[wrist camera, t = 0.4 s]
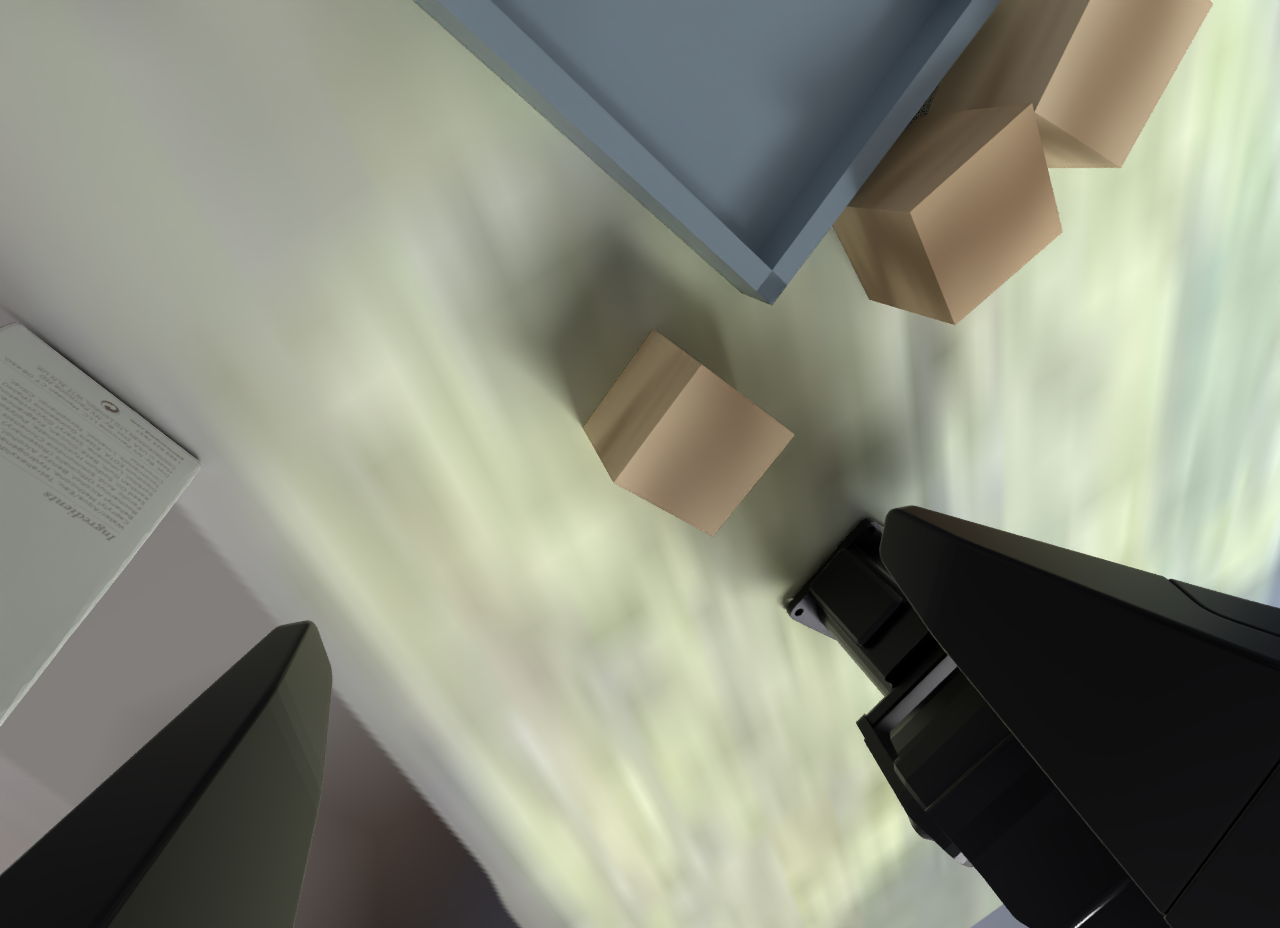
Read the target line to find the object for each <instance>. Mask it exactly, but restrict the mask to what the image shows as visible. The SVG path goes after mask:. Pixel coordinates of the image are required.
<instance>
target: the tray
mask: <svg viewBox="0 0 1280 928" xmlns="http://www.w3.org/2000/svg"><path fill="white" fill-rule="evenodd" d="M413 1H414V2H415V3H417V4H418V5H419V6H420V7H421V8H422V9H423V10H424V11H426V12H427V13H428V14H429V15H430V16H431V17H432V18H433V19H435V20H436V21H437V22H438V23H439V24H440V25H441V26H442V27H443V28H445V29H446V30H447V31H448V32H449V33H450V34H451V35H452V36H454V37H455V38H456V39H457V40H458V41H459V42H460V43H461V44H463V45H464V46H465V47H466V48H467V49H468V50H469V51H470V52H472V53H473V54H474V55H475V56H476V57H477V58H478V59H479V60H481V61H482V62H483V63H484V64H485V65H486V66H487V67H488V68H490V69H491V70H492V71H493V72H494V73H495V74H496V75H497V76H499V77H500V78H501V79H502V80H503V81H504V82H505V83H506V84H508V85H509V86H510V87H511V88H512V89H513V90H514V91H515V92H517V93H518V94H519V95H520V96H521V97H522V98H523V99H524V100H526V101H527V102H528V103H529V104H530V105H531V106H532V107H533V108H535V109H536V110H537V111H538V112H539V113H540V114H541V115H542V116H543V117H545V118H546V119H547V120H548V121H549V122H550V123H551V124H552V125H554V126H555V127H556V128H557V129H558V130H559V131H560V132H561V133H563V134H564V135H565V136H566V137H567V138H568V139H569V140H570V141H572V142H573V143H574V144H575V145H576V146H577V147H578V148H579V149H581V150H582V151H583V152H584V153H585V154H586V155H587V156H588V157H590V158H591V159H592V160H593V161H594V162H595V163H596V164H597V165H599V166H600V167H601V168H602V169H603V170H604V171H605V172H606V173H608V174H609V175H610V176H611V177H612V178H613V179H614V180H615V181H617V182H618V183H619V184H620V185H621V186H622V187H623V188H624V189H626V190H627V191H628V192H629V193H630V194H631V195H632V196H633V197H635V198H636V199H637V200H638V201H639V202H640V203H641V204H642V205H643V206H645V207H646V208H647V209H648V210H649V211H650V212H651V213H652V214H654V215H655V216H656V217H657V218H658V219H659V220H660V221H661V222H663V223H664V224H665V225H666V226H667V227H668V228H669V229H670V230H672V231H673V232H674V233H675V234H676V235H677V236H678V237H679V238H681V239H682V240H683V241H684V242H685V243H686V244H687V245H688V246H690V247H691V248H692V249H693V250H694V251H695V252H696V253H697V254H699V255H700V256H701V257H702V258H703V259H704V260H705V261H706V262H708V263H709V264H710V265H711V266H712V267H713V268H714V269H715V270H717V271H718V272H719V273H720V274H721V275H722V276H723V277H724V278H726V279H727V280H728V281H729V282H730V283H731V284H732V285H733V286H735V287H736V288H737V289H738V290H739V291H740V292H741V293H743V294H745V295H748V296H750V297H753V298H755V299H758V300H760V301H763V302H765V303H768V304H770V305H773V303H774V302H775V301H776V299H777V298H778V297H779V295H780V294H781V293H782V291H783V290H784V289H785V287H786V286H787V285H788V283H789V282H790V281H791V279H792V278H793V277H794V275H795V274H796V273H797V271H798V270H799V269H800V267H801V266H802V265H803V263H804V262H805V261H806V259H807V258H808V257H809V255H810V254H811V253H812V251H813V250H814V249H815V248H816V246H817V245H818V244H819V242H820V241H821V240H822V238H823V237H824V236H825V234H826V233H827V232H828V230H829V229H830V228H831V226H832V225H833V224H834V222H835V221H836V220H837V218H838V217H839V216H840V214H841V213H842V212H843V210H844V209H845V208H846V206H847V205H848V204H849V202H850V201H851V200H852V198H853V197H854V196H855V194H856V193H857V192H858V190H859V189H860V188H861V186H862V185H863V184H864V182H865V181H866V180H867V178H868V177H869V176H870V174H871V173H872V172H873V170H874V169H875V168H876V166H877V165H878V164H879V162H880V161H881V160H882V159H883V157H884V156H885V155H886V153H887V152H888V151H889V149H890V148H891V147H892V145H893V144H894V143H895V141H896V140H897V139H898V137H899V136H900V135H901V133H902V132H903V131H904V129H905V128H906V127H907V125H908V124H909V123H910V121H911V120H912V119H913V117H914V116H915V115H916V113H917V112H918V111H919V109H920V108H921V107H922V105H923V104H924V103H925V101H926V100H927V99H928V97H929V96H930V95H931V93H932V92H933V91H934V89H935V88H936V87H937V85H938V84H939V83H940V81H941V80H942V79H943V77H944V76H945V75H946V73H947V72H948V71H949V69H950V68H951V67H952V66H953V64H954V63H955V62H956V60H957V59H958V58H959V56H960V55H961V54H962V52H963V51H964V50H965V48H966V47H967V46H968V44H969V43H970V42H971V40H972V39H973V38H974V36H975V35H976V34H977V32H978V31H979V30H980V28H981V27H982V26H983V24H984V23H985V22H986V20H987V19H988V18H989V16H990V15H991V14H992V12H993V11H994V10H995V8H996V7H997V6H998V4H999V3H1000V2H1001V0H413Z"/></svg>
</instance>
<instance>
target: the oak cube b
mask: <svg viewBox="0 0 1280 928" xmlns="http://www.w3.org/2000/svg"><path fill="white" fill-rule="evenodd" d="M833 227H834V229H835V231H836V233H837V235H838V237H839V239H840V241H841V243H842V245H843V247H844V249H845V251H846V253H847V255H848V257H849V259H850V262H851V264H852V266H853V268H854V270H855V272H856V274H857V276H858V278H859V280H860V282H861V284H862V286H863V288H864V290H865V292H866V294H867V296H868V298H869V300H873V301H876V302H879V303H883V304H886V305H889V306H893V307H896V308H899V309H903V310H906V311H909V312H913V313H916V314H920V315H923V316H926V317H930V318H933V319H936V320H940V321H943V322H946V323H950V324H953V325H956V324H957V323H958V322H959V321H961V320H962V319H963V318H964V317H965V316H966V315H967V314H969V313H970V312H971V311H972V310H973V309H974V308H975V307H977V306H978V305H979V304H980V303H981V302H982V301H984V300H985V299H986V298H987V297H988V296H989V295H990V294H992V293H993V292H994V291H995V290H996V289H997V288H999V287H1000V286H1001V285H1002V284H1003V283H1004V282H1005V281H1007V280H1008V279H1009V278H1010V277H1011V276H1012V275H1014V274H1015V273H1016V272H1017V271H1018V270H1019V269H1020V268H1022V267H1023V266H1024V265H1025V264H1026V263H1027V262H1029V261H1030V260H1031V259H1032V258H1033V257H1034V256H1035V255H1037V254H1038V253H1039V252H1040V251H1041V250H1042V249H1043V248H1045V247H1046V246H1047V245H1048V244H1049V243H1050V242H1052V241H1053V240H1054V239H1055V238H1056V237H1057V236H1058V235H1060V234H1061V233H1062V227H1061V223H1060V219H1059V215H1058V210H1057V206H1056V202H1055V198H1054V193H1053V189H1052V185H1051V181H1050V176H1049V172H1048V168H1047V164H1046V159H1045V155H1044V151H1043V147H1042V143H1041V138H1040V134H1039V130H1038V126H1037V121H1036V117H1035V113H1034V109H1033V104H1032V103H1027V104H1018V105H1009V106H1000V107H991V108H983V109H974V110H965V111H956V112H947V113H938V114H930V115H921V116H919V117H918V118H917V119H916V120H915V121H914V122H912V123H911V124H910V125H909V126H908V127H907V128H906V129H905V130H904V131H903V132H902V133H901V135H900V136H899V137H898V139H897V140H896V141H895V143H894V144H893V145H892V147H891V148H890V149H889V151H888V152H887V153H886V155H885V156H884V157H883V159H882V160H881V161H880V162H879V164H878V165H877V166H876V168H875V169H874V170H873V172H872V173H871V174H870V176H869V177H868V178H867V180H866V181H865V182H864V184H863V185H862V186H861V188H860V189H859V190H858V192H857V193H856V194H855V196H854V197H853V198H852V200H851V201H850V202H849V204H848V205H847V206H846V208H845V209H844V210H843V212H842V213H841V214H840V216H839V217H838V218H837V220H836V221H835V222H834V224H833Z"/></svg>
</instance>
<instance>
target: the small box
mask: <svg viewBox="0 0 1280 928" xmlns="http://www.w3.org/2000/svg"><path fill="white" fill-rule="evenodd" d="M201 467H202V463H201V462H200V461H199V460H197V459H196V458H195V457H193V456H192V455H191V454H189V453H188V452H187V451H185V450H184V449H183V448H182V447H180V446H179V445H178V444H176V443H175V442H174V441H172V440H171V439H170V438H168V437H167V436H166V435H165V434H163V433H162V432H161V431H159V430H158V429H157V428H156V427H154V426H153V425H152V424H150V423H149V422H148V421H146V420H145V419H144V418H143V417H141V416H140V415H139V414H137V413H136V412H135V411H133V410H132V409H131V408H129V407H128V406H127V405H125V404H124V403H123V402H121V401H120V400H119V399H118V398H116V397H115V396H114V395H112V394H111V393H110V392H108V391H107V390H106V389H104V388H103V387H102V386H101V385H99V384H98V383H97V382H95V381H94V380H93V379H91V378H90V377H89V376H87V375H86V374H85V373H83V372H82V371H81V370H80V369H78V368H77V367H76V366H74V365H73V364H72V363H71V362H69V361H68V360H67V359H65V358H64V357H63V356H61V355H60V354H59V353H58V352H56V351H55V350H54V349H52V348H51V347H50V346H49V345H47V344H46V343H45V342H43V341H42V340H41V339H39V338H38V337H37V336H36V335H34V334H33V333H32V332H30V331H29V330H28V329H27V328H25V327H24V326H23V325H21V324H19V323H10V324H7V325H5V326H2V327H0V726H1V725H2V724H3V722H4V721H5V720H6V718H7V717H8V716H9V715H10V713H11V712H12V711H13V709H14V708H15V707H16V706H17V704H18V703H19V702H20V700H21V699H22V698H23V696H24V695H25V694H26V693H27V692H28V690H29V689H30V687H31V686H32V685H33V684H34V683H35V681H36V680H37V679H38V677H39V676H40V675H41V674H42V672H43V671H44V670H45V668H46V667H47V666H48V665H49V663H50V662H51V661H52V659H53V658H54V657H55V655H56V654H57V653H58V651H59V650H60V649H61V647H62V646H63V645H64V644H65V642H66V641H67V640H68V638H69V637H70V636H71V635H72V633H73V632H74V631H75V630H76V629H77V627H78V626H79V625H80V624H81V622H82V621H83V620H84V618H85V617H86V616H87V615H88V614H89V613H90V611H91V610H92V609H93V607H94V606H95V605H96V603H97V602H98V601H99V600H100V599H101V597H102V596H103V595H104V594H105V592H106V591H107V590H108V588H109V587H110V586H111V584H112V583H113V582H114V581H115V579H116V578H117V577H118V576H119V575H120V573H121V572H122V571H123V569H124V568H125V567H126V566H127V564H128V563H129V562H130V560H131V559H132V558H133V556H134V555H135V554H136V552H137V551H138V550H139V549H140V547H141V546H142V545H143V544H144V542H145V541H146V540H147V538H148V537H149V536H150V534H151V533H152V532H153V531H154V529H155V528H156V526H157V525H158V524H159V523H160V521H161V520H162V519H163V518H164V516H165V515H166V514H167V512H168V511H169V509H170V508H171V507H172V506H173V504H174V503H175V502H176V501H177V500H178V498H179V497H180V495H181V494H182V492H183V491H184V490H185V489H186V487H187V486H188V485H189V483H190V482H191V481H192V480H193V478H194V477H195V475H196V474H197V473H198V471H199V470H200V469H201Z"/></svg>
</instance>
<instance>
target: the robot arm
mask: <svg viewBox="0 0 1280 928" xmlns="http://www.w3.org/2000/svg"><path fill="white" fill-rule="evenodd" d="M787 613H788V614H789V616H790V617H791V618H792V619H793V620H795V621H797V622H799V623H802V624H804V625H806V626H808V627H810V628H812V629H814V630H816V631H818V632H820V633H822V634H824V635H826V636H828V637H830V638H833V639H835V640H837V641H838V643H839V644H840V645H841V646H842V647H843V648H844V650H845V651H846V652H847V653H848V654H849V656H850V657H851V658H852V659H853V660H854V661H855V663H856V664H857V665H858V666H859V667H860V668H861V670H862V671H863V672H864V673H865V674H866V675H867V677H868V678H869V679H870V680H871V681H872V682H873V684H874V685H875V686H876V687H877V688H878V690H879V691H880V692H881V693H882V694H883V695H884V698H883V699H882V700H881V701H880V702H879V703H878V704H877V705H876V706H875V707H874V708H873V709H872V710H871V711H870V712H869V713H868V714H867V715H865V714H864V715H863V716H862V717H861V718H860V719H859V720H858V721H857V722H856V724H857V726H858V727H859V729H860V731H861V732H862V734H863V736H864V738H865V739H864V741H865V743H866V745H867V747H868V748H869V750H870V752H871V753H872V755H873V757H874V758H875V760H876V762H877V764H878V765H879V767H880V769H881V770H882V772H883V774H884V776H885V777H886V779H887V781H888V782H889V784H890V786H891V787H892V789H893V791H894V793H895V794H896V796H897V798H898V799H899V801H900V803H901V805H902V806H903V808H904V810H905V811H906V813H907V815H908V817H909V820H910V822H911V825H912V827H913V828H914V830H915V831H916V832H917V833H918V834H919V835H920V836H921V837H922V838H924V839H928V840H932V841H935V842H936V843H937V844H938V845H939V846H940V847H941V848H942V849H943V850H944V851H945V852H947V853H948V854H949V855H950V856H951V857H953V858H954V859H955V860H957V861H958V862H960V863H961V864H962V865H965V866H967V867H973V866H974V867H975V869H976V870H977V871H978V872H979V873H980V874H981V876H982V877H983V878H984V879H985V881H986V882H987V883H988V884H989V886H990V887H991V888H992V890H993V891H994V892H995V893H996V895H997V896H998V897H999V899H1000V900H1001V901H1002V902H1003V904H1004V905H1005V906H1006V908H1007V909H1008V910H1009V911H1010V913H1011V914H1012V915H1013V916H1014V917H1015V918H1016V919H1017V920H1018V921H1019V922H1021V923H1023V924H1024V925H1026V926H1027V927H1029V928H1280V608H1277V607H1273V606H1269V605H1265V604H1261V603H1257V602H1254V601H1250V600H1246V599H1242V598H1239V597H1235V596H1232V595H1228V594H1224V593H1221V592H1217V591H1213V590H1210V589H1206V588H1202V587H1199V586H1195V585H1192V584H1188V583H1185V582H1181V581H1178V580H1174V579H1166V578H1165V577H1163V576H1160V575H1156V574H1153V573H1149V572H1146V571H1142V570H1139V569H1135V568H1132V567H1128V566H1125V565H1121V564H1118V563H1114V562H1111V561H1107V560H1104V559H1100V558H1097V557H1093V556H1090V555H1086V554H1083V553H1079V552H1076V551H1072V550H1069V549H1065V548H1062V547H1058V546H1055V545H1051V544H1048V543H1044V542H1041V541H1037V540H1034V539H1030V538H1027V537H1023V536H1019V535H1016V534H1012V533H1009V532H1005V531H1002V530H998V529H995V528H991V527H988V526H984V525H981V524H977V523H974V522H970V521H967V520H963V519H960V518H956V517H953V516H949V515H946V514H942V513H939V512H935V511H932V510H928V509H925V508H921V507H918V506H905V507H899V508H894V509H892V510H890V511H889V512H888V514H887V516H886V519H885V524H884V527H883V526H882V525H880V524H879V523H877V522H876V521H874V520H873V519H871V518H866V519H864V520H862V521H861V522H860V523H859V524H858V525H857V527H856V528H855V529H854V530H853V531H852V532H851V533H850V535H849V536H848V537H847V538H846V539H845V540H844V542H843V543H842V544H841V545H840V546H839V547H838V548H837V550H836V551H835V552H834V553H833V554H832V555H831V557H830V558H829V559H828V560H827V561H826V562H825V563H824V565H823V566H822V567H821V568H820V569H819V570H818V572H817V573H816V574H815V575H814V576H813V577H812V578H811V580H810V581H809V582H808V583H807V584H806V585H805V586H804V588H803V589H802V590H801V591H800V592H799V593H798V595H797V596H796V597H795V598H794V599H793V600H792V601H791V603H790V604H789V605H788V607H787ZM331 691H332V669H331V665H330V662H329V659H328V656H327V653H326V651H325V648H324V645H323V642H322V639H321V637H320V634H319V631H318V629H317V626H316V625H315V624H314V623H313V622H311V621H309V620H306V621H301V622H296V623H290V624H285V625H281V626H278V627H276V628H275V629H274V630H272V631H271V632H270V633H269V634H268V635H267V636H266V637H264V638H263V639H262V640H261V641H260V642H259V643H258V644H257V645H256V646H255V647H253V648H252V649H251V650H250V651H249V652H248V653H247V654H246V655H244V656H243V657H242V658H241V659H240V660H239V661H238V662H237V663H236V664H234V665H233V666H232V667H231V668H230V669H229V670H228V671H227V672H225V673H224V674H223V675H222V676H221V677H220V678H219V679H218V680H217V681H215V683H213V684H212V685H211V686H210V687H209V688H208V689H207V690H205V691H204V692H203V693H202V694H201V695H200V696H199V697H198V698H197V699H196V700H194V701H193V702H192V703H191V704H190V705H189V706H188V707H187V708H185V709H184V710H183V711H182V712H181V713H180V714H179V715H178V716H177V717H175V718H174V719H173V720H172V721H171V722H170V723H169V724H168V725H167V726H165V727H164V728H163V729H162V730H161V731H160V732H159V733H158V734H157V735H156V736H154V737H153V738H152V739H151V740H150V741H149V742H148V743H147V744H145V745H144V746H143V747H142V748H141V749H140V750H139V751H138V752H137V753H135V754H134V755H133V756H132V757H131V758H130V759H129V760H128V761H127V762H125V763H124V764H123V765H122V766H121V767H120V768H119V769H118V770H116V771H115V772H114V773H113V774H112V775H111V776H110V777H109V778H108V779H106V780H105V781H104V782H103V783H102V784H101V785H100V786H99V787H98V788H96V790H94V791H93V792H92V793H91V794H90V795H89V796H88V797H86V798H85V799H84V800H83V801H82V802H81V803H80V804H79V805H78V806H76V807H75V808H74V809H73V810H72V811H71V812H70V813H69V814H68V815H66V816H65V817H64V818H63V819H62V820H61V821H60V822H59V823H58V824H56V825H55V826H54V827H53V828H52V829H51V830H50V831H49V832H47V833H46V834H45V835H44V836H43V837H42V838H41V839H40V840H39V841H37V842H36V843H35V844H34V845H33V846H32V847H31V848H30V849H29V850H27V851H26V852H25V853H24V854H23V855H22V856H21V857H20V858H19V859H17V860H16V861H15V862H14V863H13V864H12V865H11V866H10V867H8V868H7V869H6V870H5V871H4V872H3V873H2V874H1V875H0V928H293V927H294V922H295V917H296V912H297V908H298V903H299V898H300V894H301V889H302V885H303V880H304V875H305V870H306V866H307V861H308V857H309V852H310V847H311V842H312V838H313V833H314V828H315V824H316V819H317V814H318V809H319V804H320V798H321V793H322V785H323V776H324V766H325V753H326V744H327V734H328V723H329V712H330V702H331Z"/></svg>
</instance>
